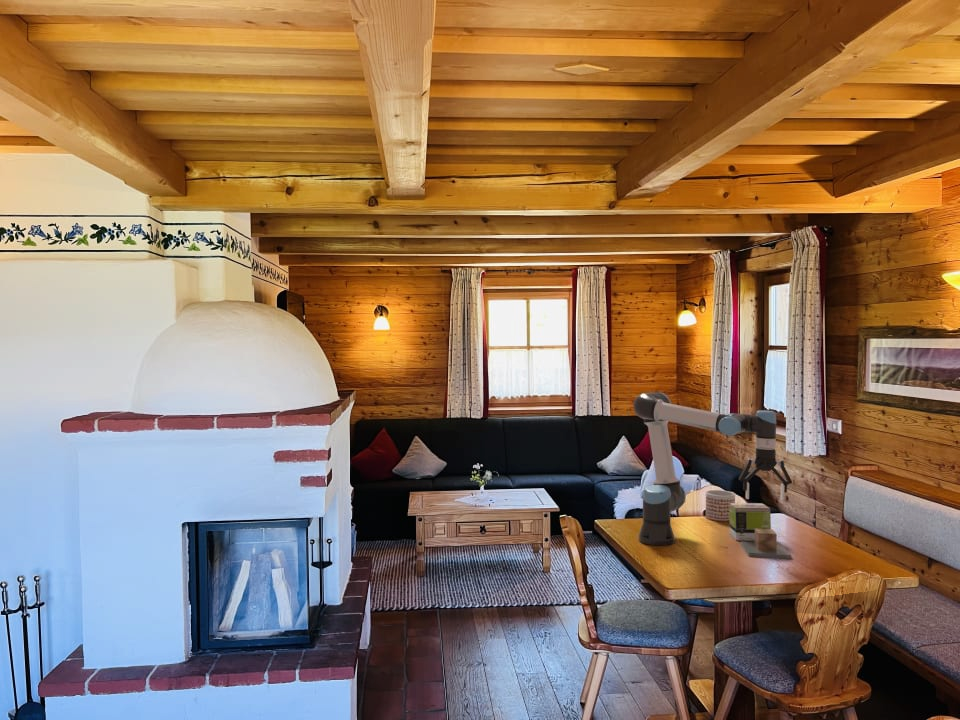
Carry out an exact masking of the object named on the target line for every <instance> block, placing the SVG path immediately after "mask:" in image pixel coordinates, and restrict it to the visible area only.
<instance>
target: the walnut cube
mask: <svg viewBox="0 0 960 720" xmlns="http://www.w3.org/2000/svg"><path fill="white" fill-rule="evenodd" d="M777 535H778V534H777V532H775V530H773V529H772V528H771V529H755V541H754V542H755V546H756V548H757V549H758V550H765V551H777V542H778V540H777V537H778V536H777Z"/></svg>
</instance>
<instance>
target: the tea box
mask: <svg viewBox="0 0 960 720" xmlns="http://www.w3.org/2000/svg"><path fill="white" fill-rule="evenodd" d="M729 508H730V521H729V535H730V536H731V537H732V538H733V539H734V540H735V541H745V542H755V529H772V526H771V525H772V524H771V523H772V522H771V518H772V517H771V508H770V507H769V506H767V505H766V504H764V503H761V502H760V503H757V502H756V503H755V502H753V503H752V502H751V503H749V502H747V503H746V502H745V503H743V502H741V503H740V502H739V503H738V502H735V503H730V504H729Z"/></svg>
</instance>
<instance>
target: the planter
mask: <svg viewBox="0 0 960 720" xmlns="http://www.w3.org/2000/svg"><path fill="white" fill-rule="evenodd" d="M730 503H736V493H734V492H732V491H728V490H720V489H719V490H718V489H711V490H707V491H705V518H706V519H707V520H711V521H715V522H726V523H727V522H728V523H730V508H729V504H730Z"/></svg>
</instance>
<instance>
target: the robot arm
mask: <svg viewBox="0 0 960 720" xmlns="http://www.w3.org/2000/svg"><path fill="white" fill-rule="evenodd" d="M632 408H633V411H634V413H635V415H636V416H637V417H639V418H640V419H643V424H644V425H646V426H647V429H648V436H649V440H650V441H649V442H650V448H651V453H652V454H651V455H652V460H653V466H654V473H655V479H654V481H653V483H652V484H653V485H648V486H646V487H644V489H643V491H642V525H641V527H640V530H639V533H638V541H639V542H641V543H643V544H646V545H651V546H671V545H674V544H675V534H674V531H673V527H672V525H671V513H672V512H674V511H677V510H679V509H680V508H681V507H682V506H683V505H684V504H685V502H686V498H687V497H686V495H687V494H686V491H685V489H684V487H682V486H681V481H680V479H679V478H678V477H677V476H676V471H675V467H674V466H675V465H674V458H673V453H672V445H671V440H670V435H669V429H668V424H669V422H671V423H677V424H679V425H686V426H690V427H694V428H699V429H704V430H709V431H714V432H718V433H721V434H723V435H725V436H731V437H732V436H735V435H737V434H742V433H752V434H756V435H755V437H756V438H755V447H756V448H755V459H751V458H747V460H746V465H745V466H744V468H743V470H742V472H741V474H740V475H739V477H738V480H739V481H740V482H742V483H743V484H742V486H743V487H742V490H743V491H745V499H746V500H749V499H750V483H749V481H751V480H752V478H753V477H754V476H755V475H756V474H757V473H758V472H760V471H761V472H765V471H767V472H770V471H772V472H773V473H774V474H775V476H776V477H777V478H778V479H779V480H780V482H781V483H780V501H782V502H784V501H785V493H787V492H788V485H790V484H791V485H792V483H793V481H792V479H791V477H790V475H789V473H788V471H787V469H786V467H785V462H784V460H781V459H780V460H776V458H777V457H776V455H777V454H776V451H777V450H776V448H777V447H776V446H777V445H776V443H777V413H776V412H775V411H773V410H760V409H759V410H757V411H756V414H745V413H736V412H735V413H732V412H731V413H728V414H723V413H718V412H713V411H709V410H703V409H698V408H695V407H694V408H693V407H688V406H684V405H678V404H674V403H673V404H672V402H671V400H670V398H669V397H668V395H666V394H665V393H663V392H659V391H652V392H645V393H643V392H642V393H641V394H639V395H637V397H635V399H634V401H633V406H632ZM754 464H755V467H754V468H753V469H752V470H751V471H750V472H749V470H750V468H751V466H752V465H754ZM776 465H777V466H778V467H780V469H781V471H782V473H783V475H784V477H783V476H782V475H781V474H780V472H779V471H778V470H777V469H776V468H775V467H776ZM748 472H749V473H748ZM747 473H748V474H747ZM785 479H786V480H785Z"/></svg>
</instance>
